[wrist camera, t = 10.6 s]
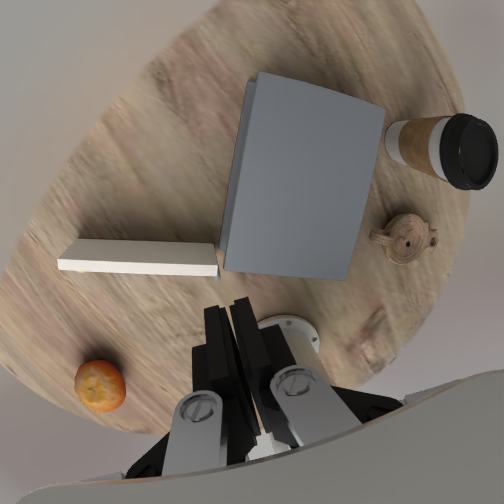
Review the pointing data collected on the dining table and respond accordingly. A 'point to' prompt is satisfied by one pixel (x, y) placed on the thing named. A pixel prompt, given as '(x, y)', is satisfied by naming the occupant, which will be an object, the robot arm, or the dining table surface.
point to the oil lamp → (405, 238)
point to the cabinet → (298, 179)
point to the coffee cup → (446, 148)
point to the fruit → (100, 386)
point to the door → (141, 257)
